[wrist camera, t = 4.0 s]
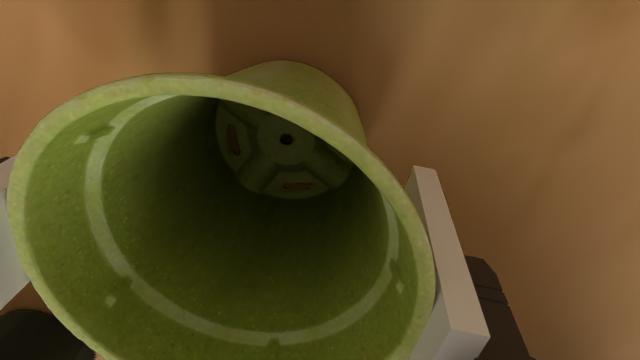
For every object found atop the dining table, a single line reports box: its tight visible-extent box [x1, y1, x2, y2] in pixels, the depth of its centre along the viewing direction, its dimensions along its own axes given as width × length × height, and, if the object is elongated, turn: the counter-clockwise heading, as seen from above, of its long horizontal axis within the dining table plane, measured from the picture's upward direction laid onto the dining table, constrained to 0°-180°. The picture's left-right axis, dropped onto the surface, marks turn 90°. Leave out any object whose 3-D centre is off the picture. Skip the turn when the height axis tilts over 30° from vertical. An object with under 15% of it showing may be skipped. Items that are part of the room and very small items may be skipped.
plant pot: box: [6, 60, 436, 360], centre depth 12 cm, size 9×9×9 cm
